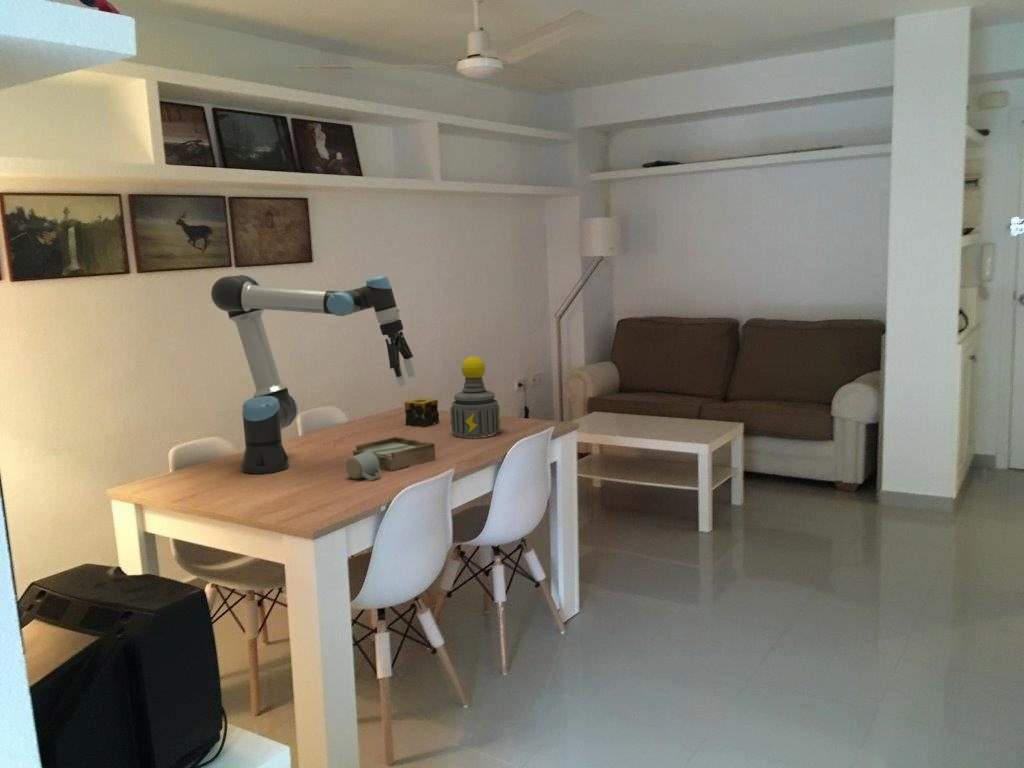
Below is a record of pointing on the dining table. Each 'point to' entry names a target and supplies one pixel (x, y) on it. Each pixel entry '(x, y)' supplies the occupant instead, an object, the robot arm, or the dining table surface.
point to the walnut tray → (398, 452)
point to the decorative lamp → (474, 404)
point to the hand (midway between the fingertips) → (407, 381)
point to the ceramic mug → (363, 466)
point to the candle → (421, 412)
